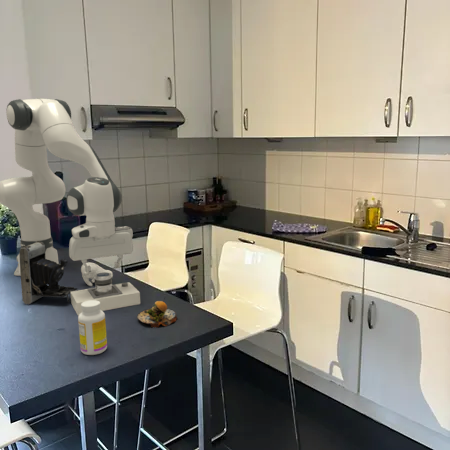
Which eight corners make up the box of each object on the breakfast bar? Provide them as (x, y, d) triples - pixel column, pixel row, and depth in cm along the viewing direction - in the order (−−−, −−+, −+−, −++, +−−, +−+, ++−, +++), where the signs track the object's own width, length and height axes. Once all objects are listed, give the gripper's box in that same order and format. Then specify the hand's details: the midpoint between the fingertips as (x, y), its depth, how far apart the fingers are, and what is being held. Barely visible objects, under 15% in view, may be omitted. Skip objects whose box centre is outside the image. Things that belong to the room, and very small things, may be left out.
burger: (145, 311, 144) (144, 289, 142) (181, 314, 142) (180, 291, 140) (131, 327, 132) (129, 303, 131) (170, 330, 130) (169, 305, 129)
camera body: (71, 303, 151) (70, 289, 150) (130, 293, 160) (129, 280, 159) (77, 315, 140) (76, 300, 140) (140, 303, 150) (139, 290, 149)
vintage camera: (63, 309, 147) (61, 249, 143) (21, 304, 150) (18, 245, 146) (78, 299, 156) (77, 243, 153) (38, 294, 159) (36, 239, 156)
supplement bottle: (110, 344, 121) (107, 298, 118) (103, 356, 114) (99, 308, 112) (85, 344, 121) (82, 298, 118) (76, 356, 115) (73, 308, 112)
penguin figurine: (80, 261, 170) (111, 260, 175) (79, 282, 171) (110, 280, 177) (82, 265, 165) (115, 264, 170) (82, 287, 166) (114, 285, 171)
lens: (94, 302, 151) (92, 273, 149) (111, 299, 154) (109, 270, 152) (98, 307, 146) (96, 277, 144) (115, 304, 149) (113, 275, 147)
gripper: (129, 223, 153) (131, 262, 156) (66, 229, 144) (69, 271, 147) (135, 227, 147) (136, 267, 150) (69, 233, 138) (72, 277, 141)
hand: (103, 269), depth 148 cm, fingers open, 8 cm apart
